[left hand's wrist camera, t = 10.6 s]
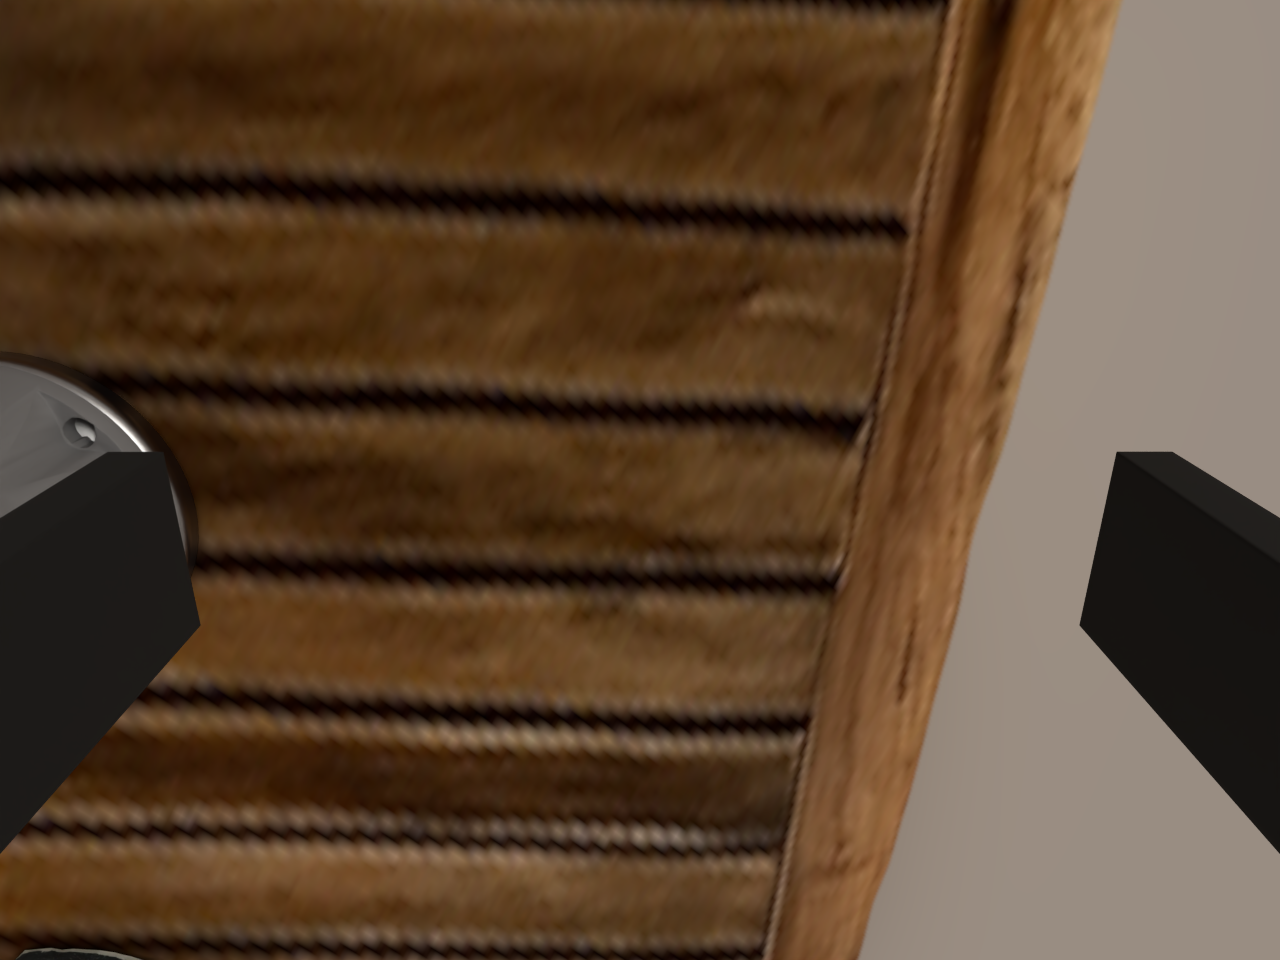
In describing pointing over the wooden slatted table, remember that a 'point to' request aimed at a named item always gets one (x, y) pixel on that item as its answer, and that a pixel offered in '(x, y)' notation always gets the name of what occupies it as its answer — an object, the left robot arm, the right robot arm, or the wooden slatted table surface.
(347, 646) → the wooden slatted table surface
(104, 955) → the fossil
